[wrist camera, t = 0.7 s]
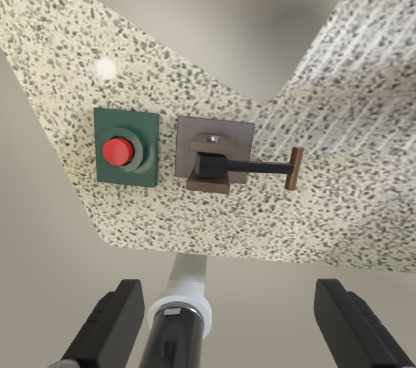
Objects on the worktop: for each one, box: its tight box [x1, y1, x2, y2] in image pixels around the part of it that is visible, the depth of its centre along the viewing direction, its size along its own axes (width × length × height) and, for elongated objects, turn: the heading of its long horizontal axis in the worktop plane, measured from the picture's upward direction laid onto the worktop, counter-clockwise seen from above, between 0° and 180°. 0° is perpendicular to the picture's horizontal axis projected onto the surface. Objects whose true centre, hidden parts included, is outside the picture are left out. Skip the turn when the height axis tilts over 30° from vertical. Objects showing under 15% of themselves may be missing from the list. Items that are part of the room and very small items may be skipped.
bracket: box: [175, 116, 255, 194], centre depth 28 cm, size 11×9×13 cm
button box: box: [94, 107, 159, 188], centre depth 33 cm, size 11×9×4 cm
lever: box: [195, 147, 304, 191], centre depth 25 cm, size 12×5×2 cm, turn 85°
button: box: [103, 138, 133, 166], centre depth 31 cm, size 4×4×2 cm
